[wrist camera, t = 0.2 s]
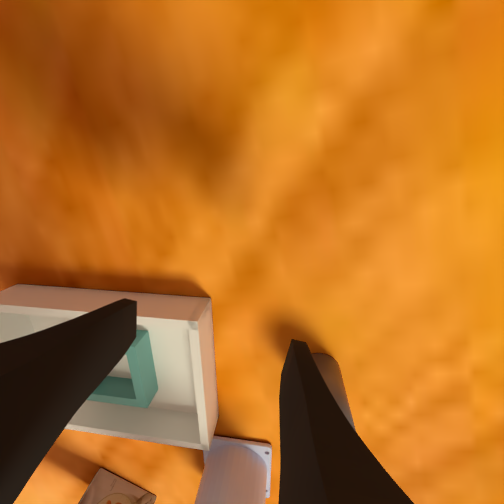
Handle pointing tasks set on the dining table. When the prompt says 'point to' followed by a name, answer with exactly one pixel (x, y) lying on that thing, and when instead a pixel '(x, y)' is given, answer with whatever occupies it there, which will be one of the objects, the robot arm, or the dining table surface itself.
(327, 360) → the cylinder
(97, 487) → the coffee box
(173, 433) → the walled box
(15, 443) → the robot arm
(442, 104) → the dining table surface
